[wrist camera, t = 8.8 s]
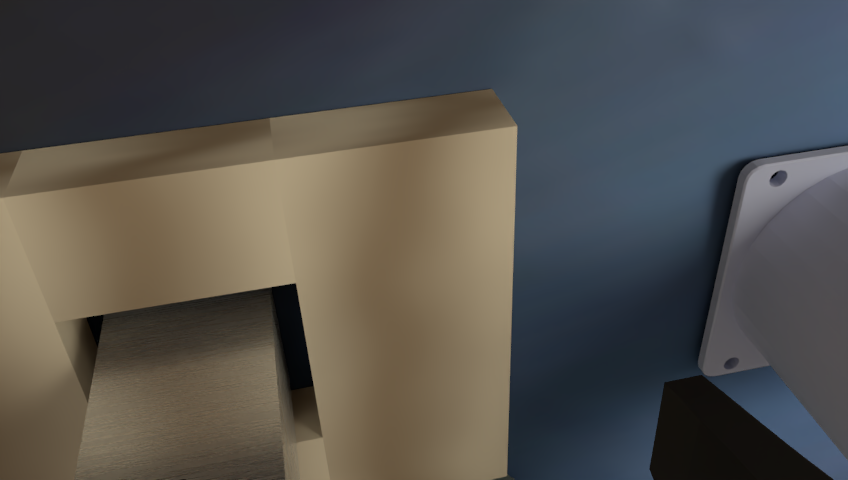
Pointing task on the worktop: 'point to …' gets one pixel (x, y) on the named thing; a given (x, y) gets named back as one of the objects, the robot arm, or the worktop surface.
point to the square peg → (191, 394)
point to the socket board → (281, 275)
